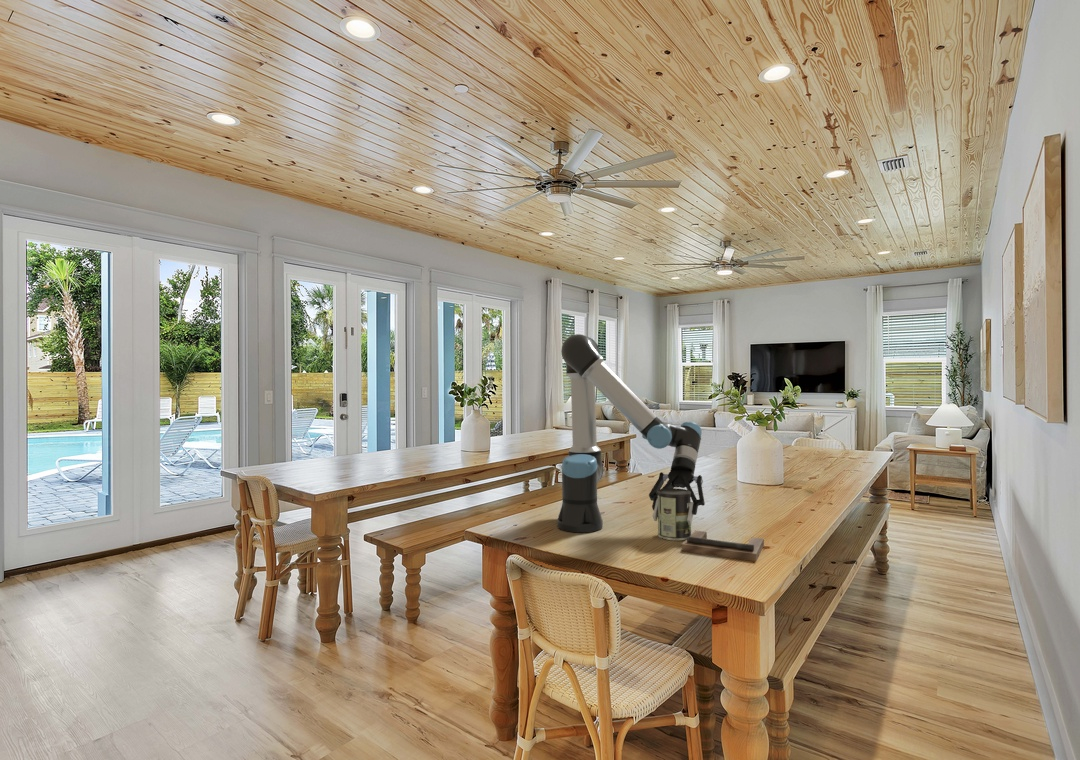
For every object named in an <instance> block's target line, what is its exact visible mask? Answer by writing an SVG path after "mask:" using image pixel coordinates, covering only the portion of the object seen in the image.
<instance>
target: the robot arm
mask: <svg viewBox="0 0 1080 760" xmlns="http://www.w3.org/2000/svg"><path fill="white" fill-rule="evenodd" d="M560 352H561V353H560V354H561V357H562V359H563V361H564V363H565V370H566V375H567V376H568V378H570V391H571V392H570V396H571V399H570V401H571V426H572V427H571V429H572V430H571V432H572V434H571V435H572V445H571V447H570V448H569V449H568V455H566V456H565V457H564V458H562V463H561V467H560V468H561V481H562V482H561V483H562V484H561V485H562V487H561V490H562V491H561V493H562V494H561V495H562V501H561V506H560V511H559V513H558V517H557V523H556V524H557V526H556V527H557V528H558V529H559V530H560V531H564V532H570V533H592V532H596V531H597V532H598V531H600V530H601V529H603V528H604V527H603V524H604V523H603V518H602V515H601V512H600V508H599V504H598V483H599V482H600V481H601V480H602V478H603V474H604V465H603V461H602V450H601V449H602V448H600V447H599V446H598V444H597V414H596V413H597V412H596V411H597V410H596V406H597V405H596V389H597V390H598V391H599V392H600V393H601V394H602V395H603V396H604V397H605V398H606V399H607V400H608V401H609V402H610V403H611V404H612V405H613V406H614V407H615V408H616V409H617V410H618V411H619V412H620V413H621V414H622V415H623V416H624V417H625V418H626V420H628V421H629V422H630V424H632V425H633V427H635V428H636V430H637V431H638V432H639V433H640V434H641V435H642V436H641V437H642V439H643V440H647V442H648V444H649V445H650V446H651V447H653V448H654V449H657V450H658V449H659V450H660V449H664V448H666V447H668V446H669V447H671V448H675V449H674V453H673V457H672V463H671V465H670V472H668V473H666V474H665V473H664V472H660V473H659V476H658V479H656V482H655V484H654V486H652V489H651V490H650V492H649V493H648V497H649V499H650V501H653V502H652V506H651V507H652V511H653V513H652V518H653V521H654V522H658V494H657V491H658V490H660V489H667V488H680V489H685V488H686V490H688V491H690V492H691V495H690V496H691V503H690V508H689V513H688V518H687V521H688V524H689V525H691V526H692V524H693V523H692V522H693V519H694V518H693V517H694V515H695V516H696V515H697V514H698V513H697V512H698V509H699V508H698V507H700V506H702V507H703V506H705V505H706V503H705V498H704V492H703V483H704V480H703V477H702V475H699V474H698V476H697V475H695V470H696V463H697V459H698V453H699V449H700V446H701V441H702V434H703V433H702V431H703V430H702V428H701V426H700V425H699V424H698V423H696V422H693V421H689V422H688V421H685V422H683V423H681V425H676V424H672V423H669V422H666V421H665V422H664V421H662V420H661V419H660V418H658V417H657V415H656V413H654V412H653V411H652V410H651V409H650V408H649V407H648V406H647V405H646V404H645V403H644V402H643V400H641V399H640V398H639V397H638V396H637V394H635V393H634V392H633V391H632V390H631V389H630V388H629V387H628V386H627V384H626V383H624V381H623V380H621V379H620V377H619V376H618V375H617V374H616V373H615V372H613V370H611V368H610V367H608V365H607V364H606V363H605V362H604V357H603V356H602V355H601V351H600V347H599V345H598V343H597V342H596V341H595V340H594V339H593V338H591V337H589V336H586V335H584V334H580V333H579V334H573V335H570V336H569V337H567V338H566V339H565V340H564V341H563V343H562V345H561V350H560ZM667 479H668V480H667ZM666 480H667V481H666ZM665 482H666V483H665ZM693 482H695V484H696V487H697V493H698V499H697V497H696V494H695V492H694V491H693V488H692V486H691V484H692V483H693ZM664 483H665V484H664Z"/></svg>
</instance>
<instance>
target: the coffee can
mask: <svg viewBox="0 0 1080 760" xmlns="http://www.w3.org/2000/svg"><path fill="white" fill-rule="evenodd" d="M657 494H658V518H657V536H658V537H659V538H660V539H662V538H663V540H667V541H674V542H675V541H677V542H678V541H679V542H680V541H685V540H686V539H687V537H689V536H690V535H691V534H692V524H691V525H689V524H688V521H687V518H688V513H689V508H690V503H691V502H692V499H691V496H690V495H691V492H690V491H688V490H687V489H685V488H677V487H674V488H667V489H662V488H661V489H660V490H658V491H657Z"/></svg>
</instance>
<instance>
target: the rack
mask: <svg viewBox="0 0 1080 760" xmlns="http://www.w3.org/2000/svg"><path fill="white" fill-rule="evenodd" d="M707 537H708V535H707V531H704V530H703V531H701V530H694V531H693V532H691V535H690V536H689V537H687V539H686V540H684V541H683V542H682V543H681V551H682V552H685V551H688V552H687V553H693V552H694V553H693V554H700V553H701V555H709V556H715V557H723V558H731V559H737V560H745V561H752V562H757V561H758V558H759V556H760V554H761V553H762V550H763V548H764V546H765V539H764V538H762V537H761V538H760V537H752V536H750V539H749V540H748V542H747V543H742V542H741V543H740V542H733V541H726V540H718V539H710V538H709V539H708V538H707Z"/></svg>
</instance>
